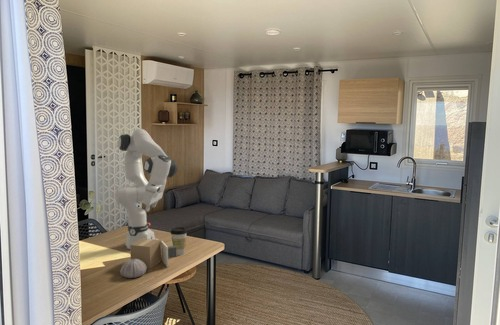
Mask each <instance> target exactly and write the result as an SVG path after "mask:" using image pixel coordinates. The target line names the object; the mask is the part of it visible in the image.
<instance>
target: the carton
mask: <svg viewBox="0 0 500 325" xmlns="http://www.w3.org/2000/svg"><path fill="white" fill-rule="evenodd" d="M161 241H162V240H161V239H158V240H155V239H144V238H142V239H140V240H138V241H136V242H135V243H133V244H131V245H130V249H129V252H130V259H139V260H141V261H142V262H144V263H145V265H146V267H147V269H152V268H153V267H154V266H156V265H157V264H159V262H161V261H162V254H161Z"/></svg>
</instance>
